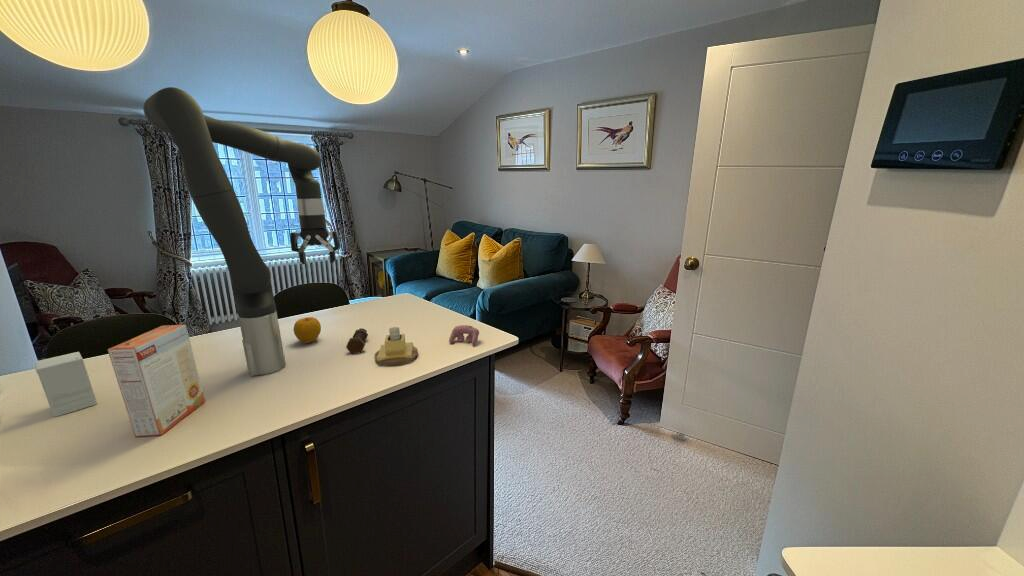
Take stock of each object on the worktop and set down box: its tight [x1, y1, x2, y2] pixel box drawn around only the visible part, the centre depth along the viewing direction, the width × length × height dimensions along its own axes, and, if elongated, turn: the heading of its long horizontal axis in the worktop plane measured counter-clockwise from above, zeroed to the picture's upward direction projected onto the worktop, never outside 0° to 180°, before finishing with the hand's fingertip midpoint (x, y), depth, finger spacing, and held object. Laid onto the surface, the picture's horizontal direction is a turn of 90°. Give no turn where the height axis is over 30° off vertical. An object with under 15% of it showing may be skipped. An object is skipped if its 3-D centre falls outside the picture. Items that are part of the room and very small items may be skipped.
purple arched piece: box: [448, 324, 480, 347], centre depth 132 cm, size 10×5×7 cm, turn 75°
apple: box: [293, 316, 322, 344], centre depth 133 cm, size 8×8×9 cm
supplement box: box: [35, 351, 98, 418], centre depth 94 cm, size 7×7×13 cm
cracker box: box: [107, 324, 206, 438], centre depth 87 cm, size 14×6×21 cm, turn 4°
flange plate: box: [377, 333, 414, 361], centre depth 120 cm, size 10×10×5 cm
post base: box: [374, 326, 419, 367], centre depth 120 cm, size 13×13×10 cm
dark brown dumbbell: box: [345, 328, 369, 355], centre depth 131 cm, size 6×5×15 cm
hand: (318, 263), depth 126 cm, fingers open, 8 cm apart
